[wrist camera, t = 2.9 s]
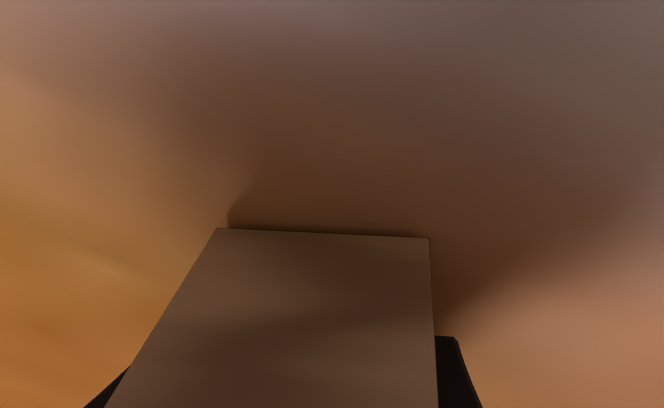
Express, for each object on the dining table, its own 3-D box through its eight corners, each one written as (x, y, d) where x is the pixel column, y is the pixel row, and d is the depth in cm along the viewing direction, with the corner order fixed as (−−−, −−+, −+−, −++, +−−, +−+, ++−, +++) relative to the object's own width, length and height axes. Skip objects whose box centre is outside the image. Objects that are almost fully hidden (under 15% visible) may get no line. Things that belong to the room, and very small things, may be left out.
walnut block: (428, 238, 10) (441, 457, 6) (416, 383, 13) (420, 606, 9) (216, 228, 11) (97, 418, 7) (245, 367, 14) (172, 566, 9)
